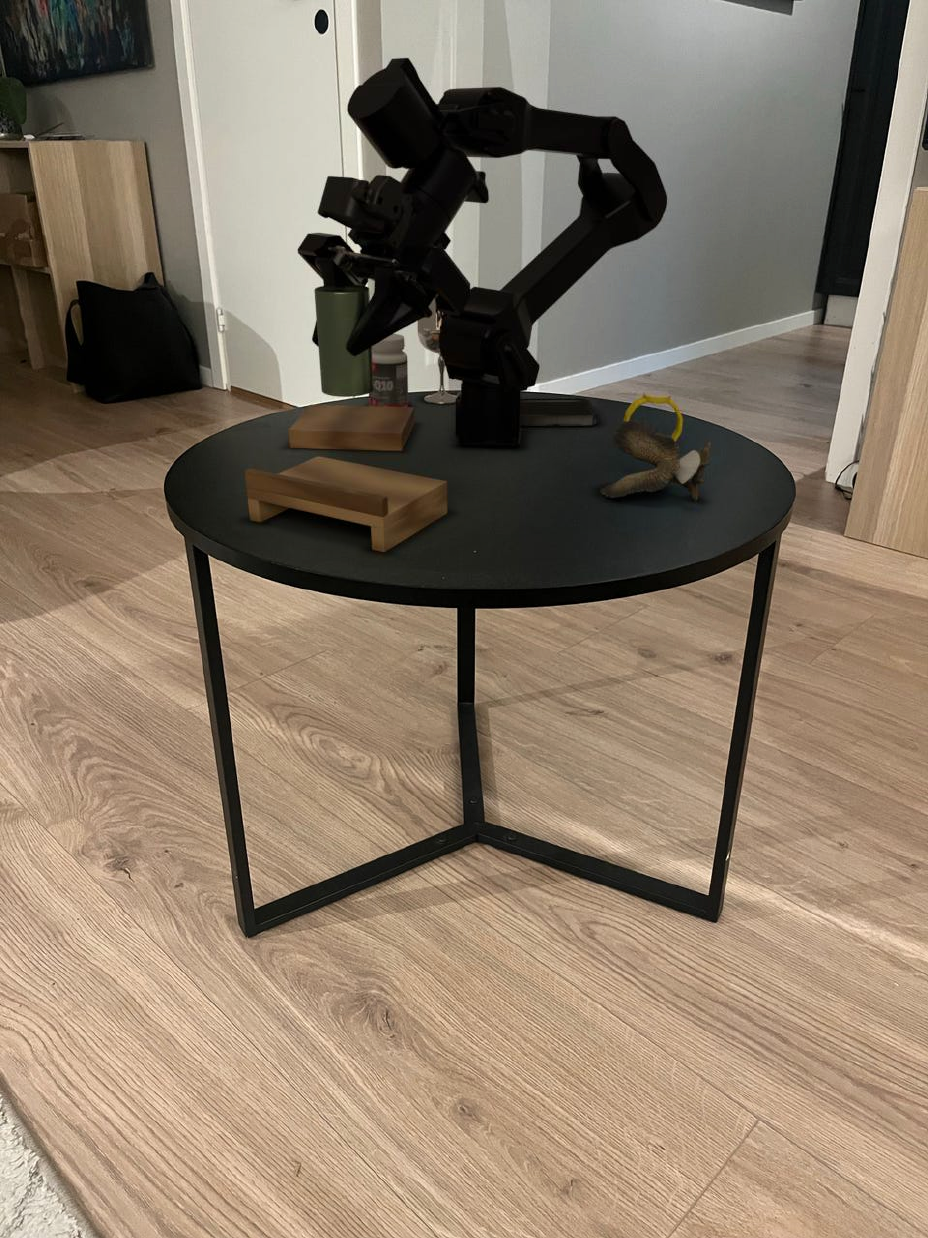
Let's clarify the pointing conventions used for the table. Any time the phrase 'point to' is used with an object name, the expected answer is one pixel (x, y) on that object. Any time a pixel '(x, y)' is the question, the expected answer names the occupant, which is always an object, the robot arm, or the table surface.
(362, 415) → the wooden block
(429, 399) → the wineglass
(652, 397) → the watch
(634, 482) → the eagle figurine
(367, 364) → the green tumbler
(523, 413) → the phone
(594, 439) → the table surface
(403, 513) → the shelf
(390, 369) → the pill bottle
